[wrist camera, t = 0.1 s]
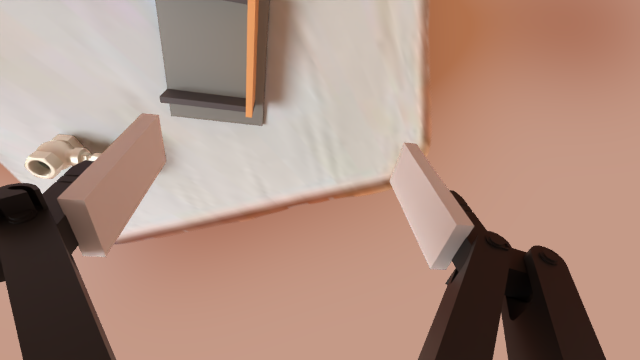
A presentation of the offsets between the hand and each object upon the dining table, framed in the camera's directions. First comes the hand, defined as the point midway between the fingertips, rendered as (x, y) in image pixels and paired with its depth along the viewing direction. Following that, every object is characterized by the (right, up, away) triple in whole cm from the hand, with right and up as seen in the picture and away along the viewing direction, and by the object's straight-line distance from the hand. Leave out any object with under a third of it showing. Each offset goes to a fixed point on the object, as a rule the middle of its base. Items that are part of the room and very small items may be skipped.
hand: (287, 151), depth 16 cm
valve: (-32, +4, +29) cm, 44 cm away
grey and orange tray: (-13, +16, +22) cm, 30 cm away
